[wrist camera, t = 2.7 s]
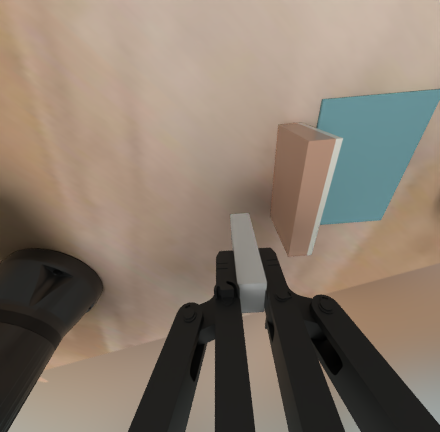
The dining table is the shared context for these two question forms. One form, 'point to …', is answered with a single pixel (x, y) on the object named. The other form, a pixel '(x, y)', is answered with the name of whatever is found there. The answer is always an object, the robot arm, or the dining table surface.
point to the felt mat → (372, 149)
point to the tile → (301, 183)
